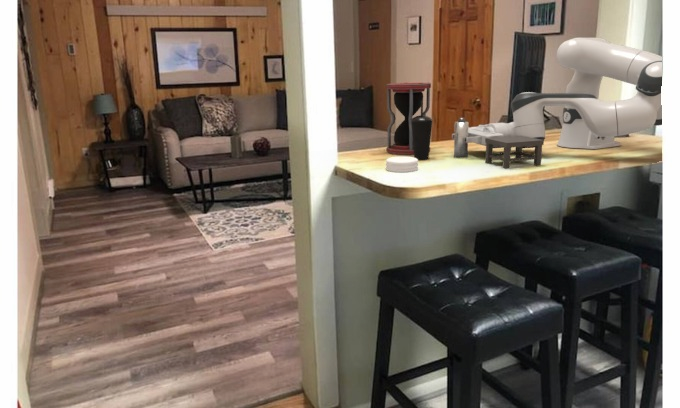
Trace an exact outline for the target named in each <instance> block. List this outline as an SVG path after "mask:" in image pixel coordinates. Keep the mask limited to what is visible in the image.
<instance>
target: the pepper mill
mask: <svg viewBox="0 0 680 408" xmlns="http://www.w3.org/2000/svg"><path fill="white" fill-rule="evenodd" d="M469 127H470V126H469V121H466V118H465V117H459V118H458V120H457V121H455V122H454V134H455V136H454V139H453V141H454V142H453V143H454V145H453V149H454V150H453V157H454V158H456V159H463V158H468V153H469V151H468V149H469V143H466V142H465V137H468V128H469Z"/></svg>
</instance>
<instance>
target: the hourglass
mask: <svg viewBox="0 0 680 408" xmlns="http://www.w3.org/2000/svg"><path fill="white" fill-rule="evenodd" d="M431 88H432V83H431V82H399V83H398V82H397V83H386V91H387V99H386V100H387V107H386V108H387V111H388V113H389V114H390V117H391V121H390V123H389V125H388V127H387V147H386V152H387V153H388V154H392V155H401V156H414V148H413V136H412V125H411V121H410V119H412V118H413V117H414V115H416V113H417V112H418V111H419V110H421V100H423V101H424V94H423V92H425V90H426V102H425V103H426V106H425V110H423V115H424V116H427V113H428V112H429V110H430V103H431V102H430V101H431V100H430V99H431V98H430V96H431V93H430V92H431ZM391 90H392V91H391ZM391 92H393V94H394V95H393V102H394V106H395V107H396V110H398V112H399V113H400V114H401V115H402V116H403V117H404V120H403V121H401V123H400V124H399V125H398V126H397V128H396V129H395V131H394V136H393V142H394V143H393V144H391V143H392V142H391V141H392V140H391V138H392V131H391V130H392V127H393V125H395V122H396V116H395V113H394V112H393V111H392V108H391V107H392V106H391V105H392V104H391V100H392V98H391V96H392V95H391ZM430 151H431V148H430V149H429V153H430Z"/></svg>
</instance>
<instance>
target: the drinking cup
mask: <svg viewBox="0 0 680 408" xmlns="http://www.w3.org/2000/svg"><path fill="white" fill-rule="evenodd" d="M423 112H424V99H423V100H421V107H420V114H419V115H416V116H413V117H412V119H410V121H411V125H412V136H413V148H414V155H413V157H414V158H417V159H418V161H426V160H429V158H430V152H429V149H430V150H431V139H432V138H431V137H432V127H433V121H434V119H433V118H432V117H430V116H428V115H426V116H424V115H423Z"/></svg>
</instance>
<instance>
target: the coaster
mask: <svg viewBox="0 0 680 408" xmlns="http://www.w3.org/2000/svg"><path fill="white" fill-rule="evenodd" d="M385 162H386V163H385V166H386V167H385V169H386V170H387V172H391V171H392V173H411V172H410V171H412V172H415V170H416V171H418V170H417V169H419V167H418V166H419V163H418V162H419V160H418V159H417V158H414V156H413V157H412V156H392V157H388V158H387V159H385Z"/></svg>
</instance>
